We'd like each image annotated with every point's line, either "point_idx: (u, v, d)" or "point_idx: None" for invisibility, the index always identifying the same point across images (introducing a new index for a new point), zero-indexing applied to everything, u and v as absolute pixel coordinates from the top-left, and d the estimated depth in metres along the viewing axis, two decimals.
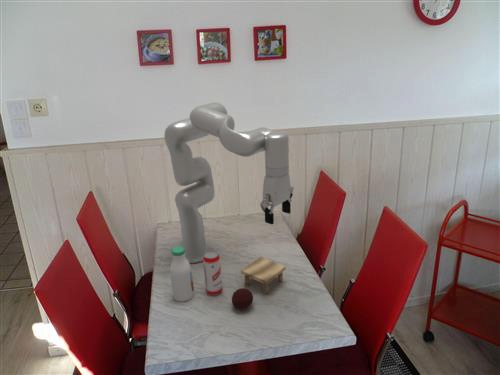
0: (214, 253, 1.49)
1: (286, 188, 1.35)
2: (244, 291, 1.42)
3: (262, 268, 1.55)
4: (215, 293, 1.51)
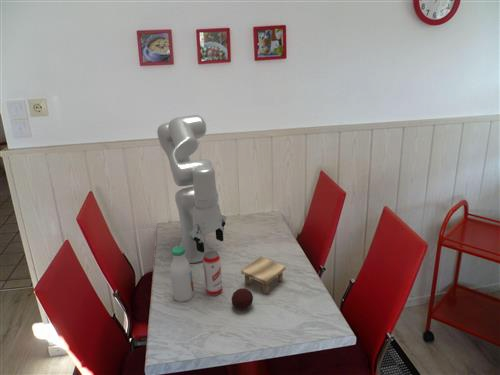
0: (214, 253, 1.49)
1: (216, 218, 1.42)
2: (244, 291, 1.42)
3: (262, 268, 1.55)
4: (215, 293, 1.51)
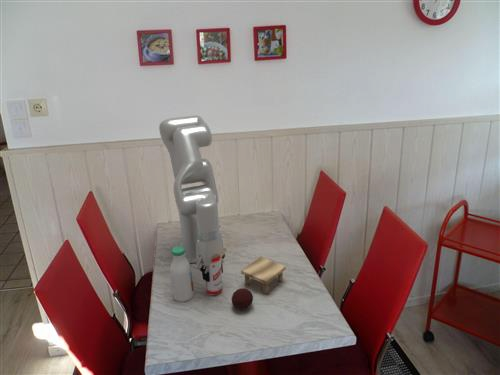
0: None
1: (218, 248, 1.47)
2: (244, 291, 1.42)
3: (262, 268, 1.55)
4: (215, 293, 1.51)
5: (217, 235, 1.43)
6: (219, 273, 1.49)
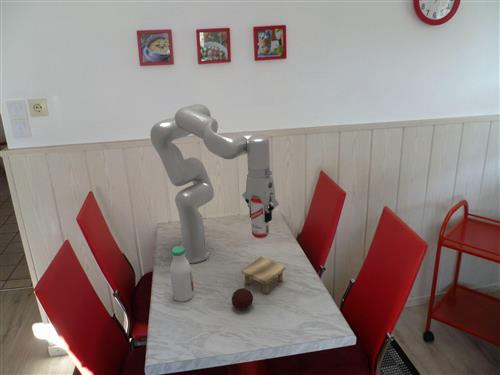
0: None
1: (259, 192, 1.40)
2: (244, 291, 1.42)
3: (262, 268, 1.55)
4: (252, 233, 1.49)
5: (253, 175, 1.38)
6: (254, 216, 1.44)
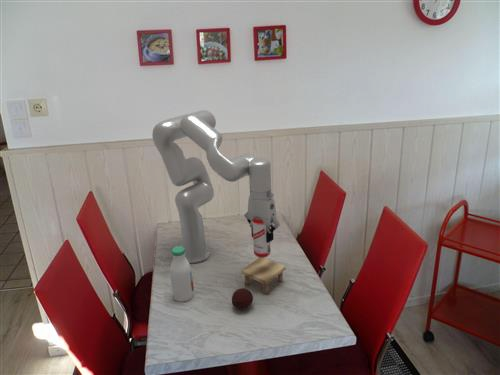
0: None
1: (260, 213, 1.43)
2: (244, 291, 1.42)
3: (262, 268, 1.55)
4: (254, 252, 1.52)
5: (255, 197, 1.41)
6: (256, 236, 1.47)
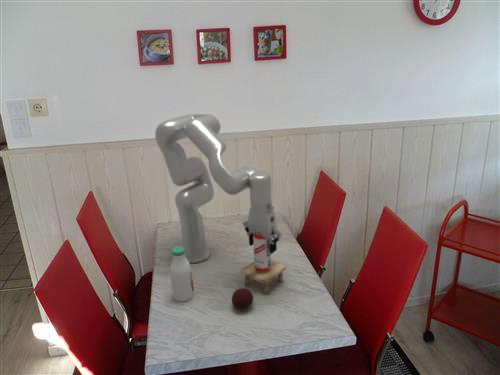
0: None
1: (261, 226, 1.45)
2: (244, 291, 1.42)
3: None
4: None
5: (255, 210, 1.43)
6: (257, 251, 1.49)
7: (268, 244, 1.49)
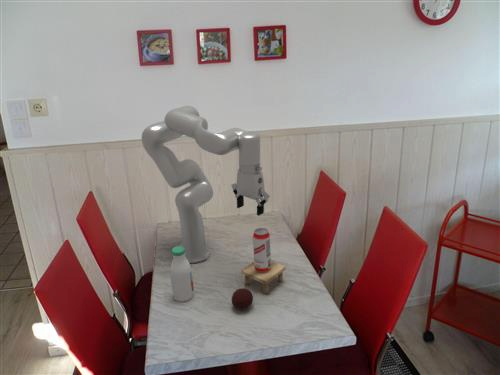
0: (264, 233, 1.48)
1: (249, 187, 1.45)
2: (244, 291, 1.42)
3: None
4: None
5: (243, 170, 1.42)
6: (256, 251, 1.49)
7: (268, 244, 1.49)
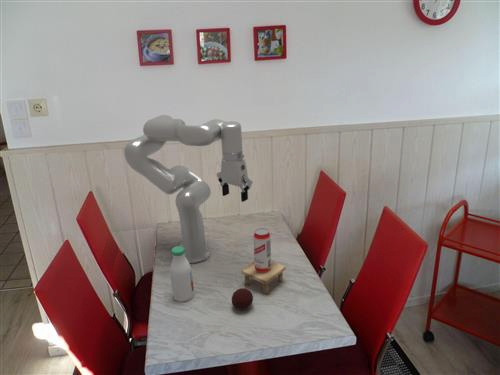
0: (264, 233, 1.48)
1: (232, 174, 1.52)
2: (244, 291, 1.42)
3: None
4: None
5: (226, 158, 1.49)
6: (257, 251, 1.49)
7: (268, 244, 1.49)
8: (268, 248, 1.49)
